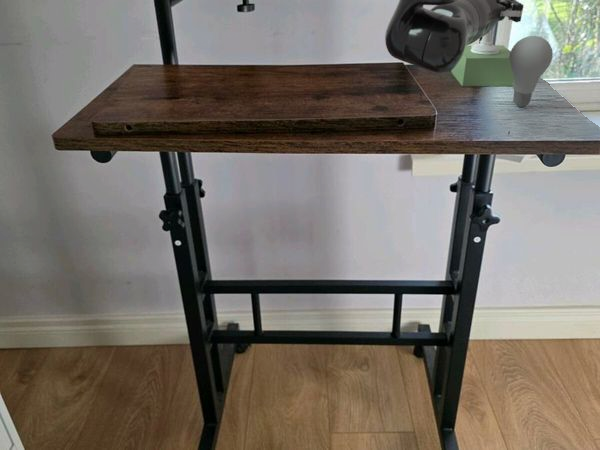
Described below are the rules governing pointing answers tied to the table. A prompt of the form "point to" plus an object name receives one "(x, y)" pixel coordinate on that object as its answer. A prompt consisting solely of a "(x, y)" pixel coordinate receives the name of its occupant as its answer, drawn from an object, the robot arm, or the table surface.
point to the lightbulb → (528, 66)
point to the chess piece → (485, 46)
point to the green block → (484, 68)
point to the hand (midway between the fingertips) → (497, 1)
